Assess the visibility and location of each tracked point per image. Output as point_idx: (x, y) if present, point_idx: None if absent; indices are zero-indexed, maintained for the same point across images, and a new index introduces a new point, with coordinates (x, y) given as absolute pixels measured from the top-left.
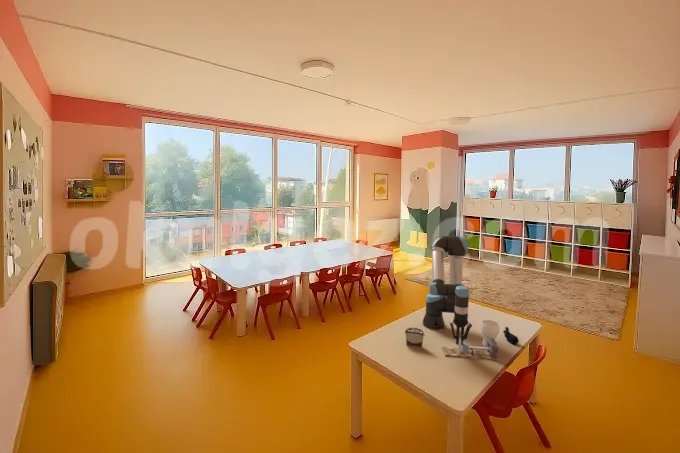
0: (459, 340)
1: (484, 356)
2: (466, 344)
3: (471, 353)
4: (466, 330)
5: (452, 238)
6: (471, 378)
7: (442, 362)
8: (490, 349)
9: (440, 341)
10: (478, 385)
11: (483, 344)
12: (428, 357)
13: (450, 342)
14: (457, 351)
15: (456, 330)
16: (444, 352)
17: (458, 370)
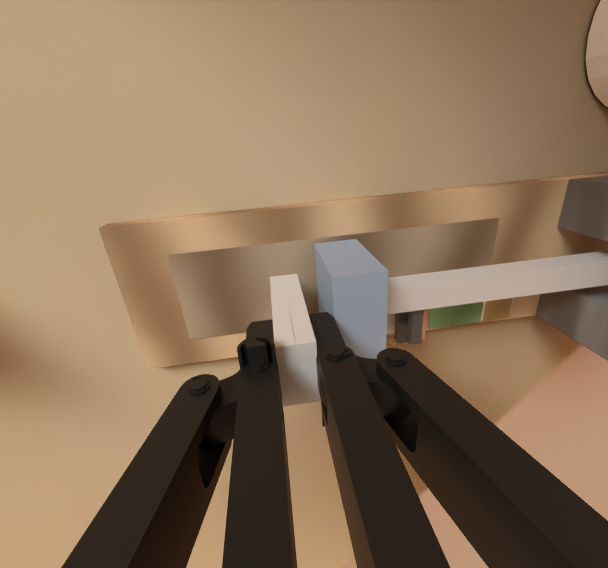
0: (291, 404)
1: (490, 319)
2: (377, 338)
3: None
4: (503, 546)
5: None
6: (320, 520)
7: (143, 440)
8: (600, 327)
9: (53, 23)
10: (342, 550)
11: (606, 53)
12: (12, 411)
13: (201, 30)
14: (269, 291)
15: (229, 517)
16: (140, 337)
17: None
